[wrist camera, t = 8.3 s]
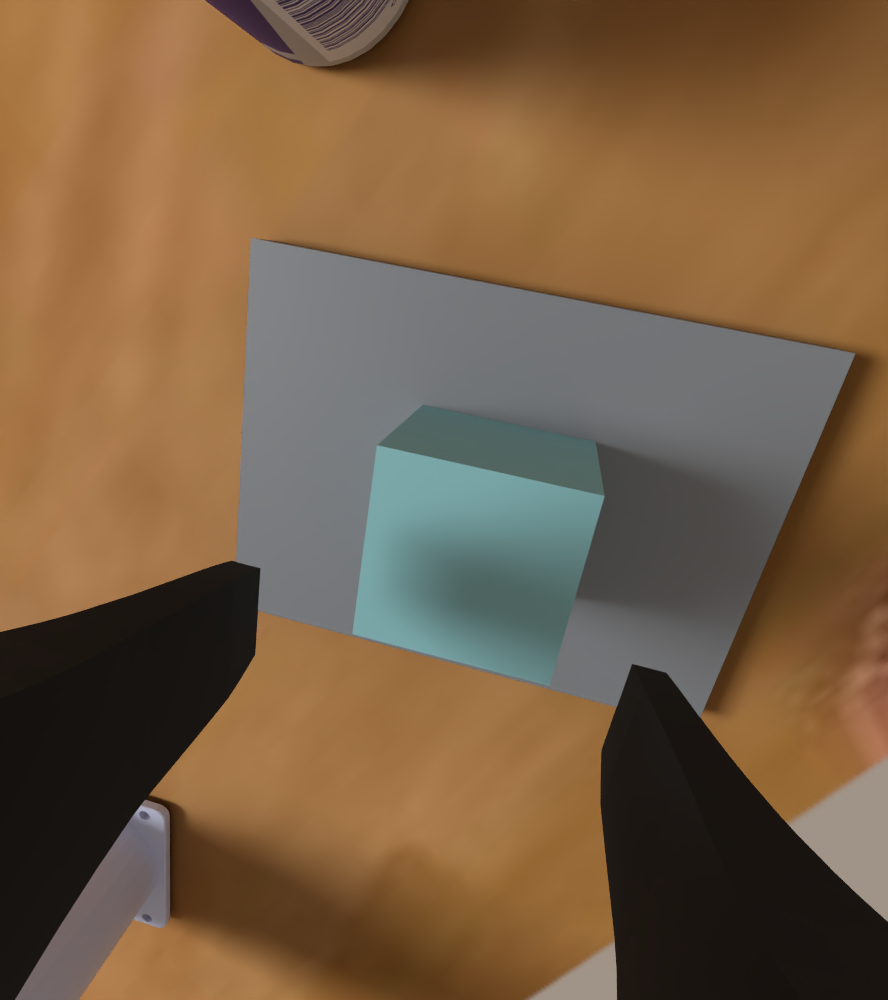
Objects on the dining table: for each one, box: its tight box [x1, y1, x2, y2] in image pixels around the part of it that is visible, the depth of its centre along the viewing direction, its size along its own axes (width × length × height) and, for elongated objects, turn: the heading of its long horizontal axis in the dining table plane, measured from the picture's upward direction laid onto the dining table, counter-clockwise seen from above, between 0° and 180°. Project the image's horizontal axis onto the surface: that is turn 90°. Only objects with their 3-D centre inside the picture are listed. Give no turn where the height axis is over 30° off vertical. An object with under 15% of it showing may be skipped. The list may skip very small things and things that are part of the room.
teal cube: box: [352, 405, 605, 686], centre depth 16 cm, size 5×5×4 cm
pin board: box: [236, 238, 856, 717], centre depth 17 cm, size 16×12×4 cm
